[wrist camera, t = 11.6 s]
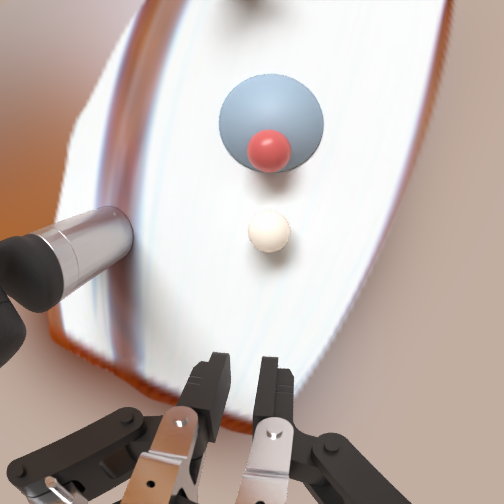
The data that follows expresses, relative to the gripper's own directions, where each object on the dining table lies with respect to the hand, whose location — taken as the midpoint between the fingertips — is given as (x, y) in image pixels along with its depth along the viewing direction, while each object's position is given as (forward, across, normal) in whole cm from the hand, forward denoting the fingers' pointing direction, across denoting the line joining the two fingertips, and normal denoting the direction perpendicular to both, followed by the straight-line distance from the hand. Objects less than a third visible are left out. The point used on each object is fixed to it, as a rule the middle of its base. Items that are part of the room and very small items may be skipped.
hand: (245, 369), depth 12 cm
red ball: (+26, +1, -10) cm, 28 cm away
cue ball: (+26, +1, 0) cm, 26 cm away
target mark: (+29, +1, -14) cm, 32 cm away
